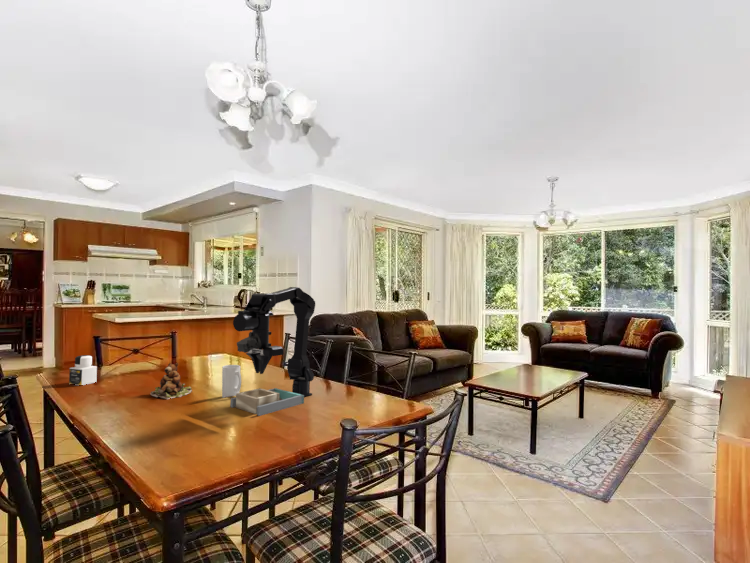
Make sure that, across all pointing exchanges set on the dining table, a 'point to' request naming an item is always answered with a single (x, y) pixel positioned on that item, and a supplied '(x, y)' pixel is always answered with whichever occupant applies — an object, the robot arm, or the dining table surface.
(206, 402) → the dining table surface
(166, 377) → the bear figurine
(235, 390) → the mug
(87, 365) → the medicine bottle
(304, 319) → the robot arm
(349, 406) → the dining table surface
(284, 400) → the bay
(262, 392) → the crate
